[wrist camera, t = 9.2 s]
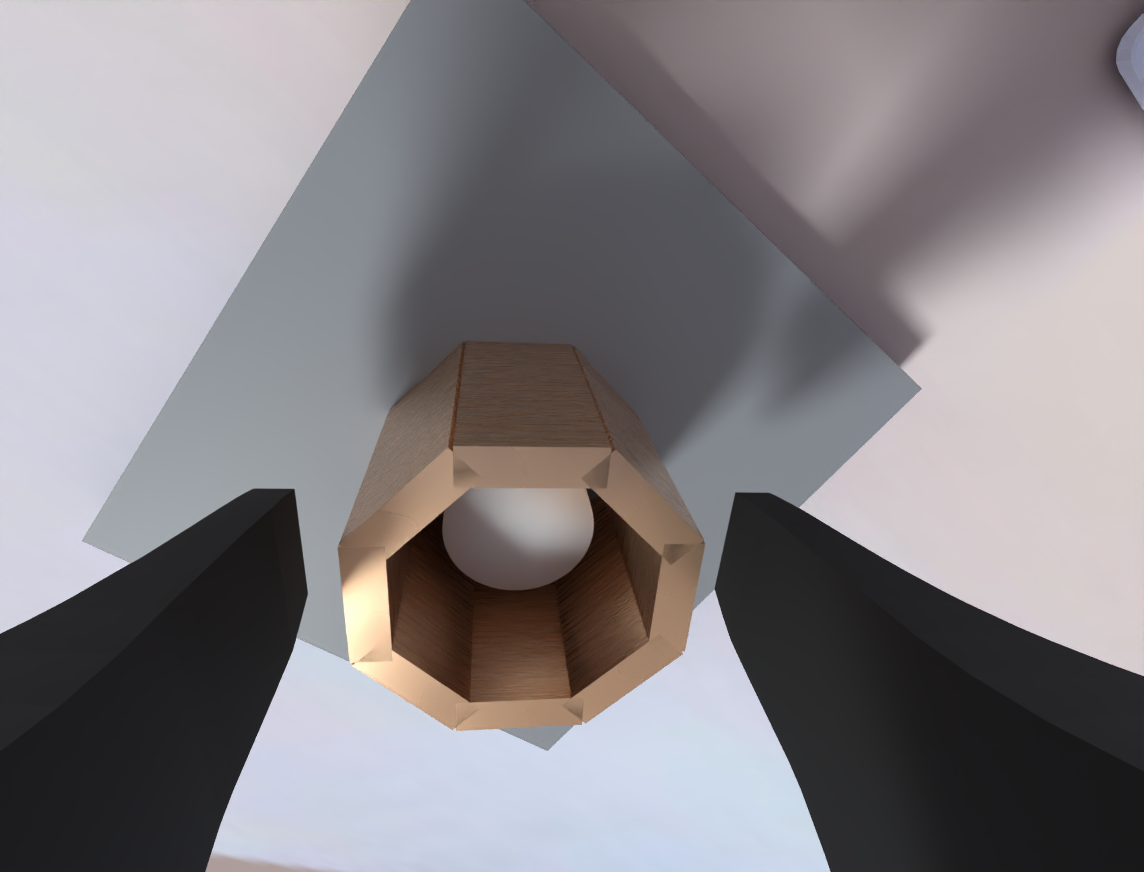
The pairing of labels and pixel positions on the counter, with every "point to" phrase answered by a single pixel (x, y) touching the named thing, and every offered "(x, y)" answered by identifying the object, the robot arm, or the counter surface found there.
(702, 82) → the counter surface
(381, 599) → the octagonal cardboard bin
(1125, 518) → the counter surface
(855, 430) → the plate
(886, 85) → the counter surface
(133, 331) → the counter surface
